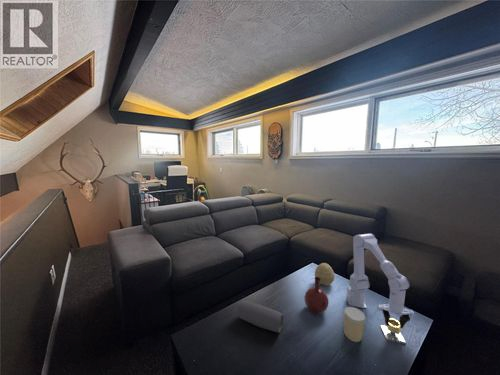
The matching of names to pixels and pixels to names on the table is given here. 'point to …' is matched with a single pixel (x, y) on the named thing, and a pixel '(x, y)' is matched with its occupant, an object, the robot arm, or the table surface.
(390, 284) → the robot arm
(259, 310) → the bluetooth speaker
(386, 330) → the shaft block
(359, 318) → the coffee cup
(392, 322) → the collar
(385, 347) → the table surface
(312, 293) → the round-bottom flask
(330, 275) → the fossilized egg
